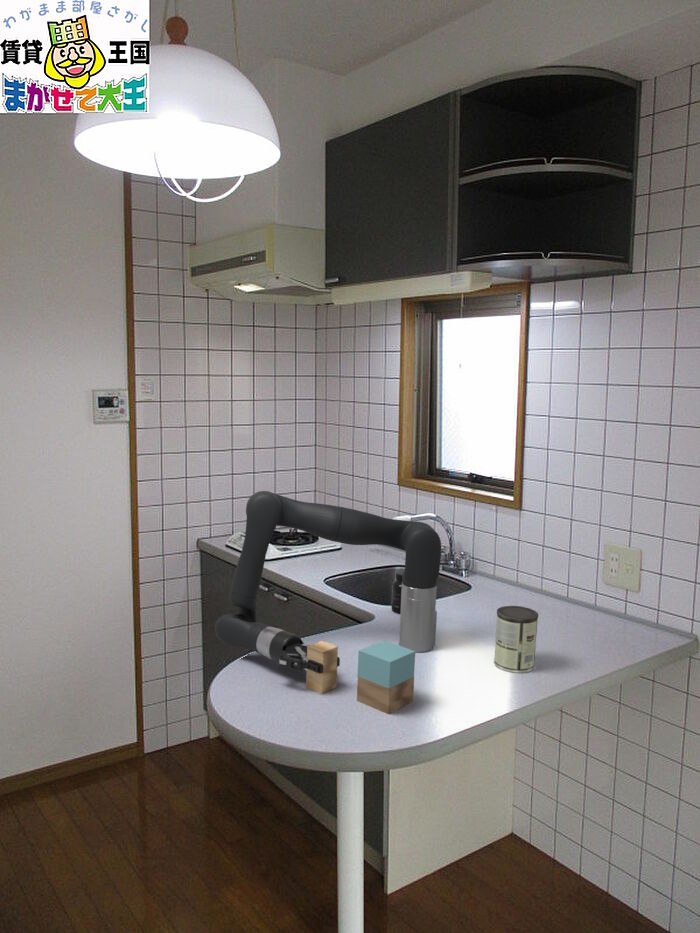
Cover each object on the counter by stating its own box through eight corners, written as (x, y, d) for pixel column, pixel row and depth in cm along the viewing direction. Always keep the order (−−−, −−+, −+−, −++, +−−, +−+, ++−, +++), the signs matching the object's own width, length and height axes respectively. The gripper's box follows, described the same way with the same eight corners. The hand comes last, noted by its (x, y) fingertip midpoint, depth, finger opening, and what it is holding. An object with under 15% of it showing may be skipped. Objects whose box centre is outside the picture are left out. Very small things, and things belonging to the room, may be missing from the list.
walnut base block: (381, 689, 182) (383, 665, 181) (412, 701, 176) (414, 676, 175) (356, 701, 175) (357, 676, 174) (388, 714, 169) (389, 688, 168)
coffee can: (501, 654, 206) (504, 602, 204) (539, 663, 201) (543, 610, 199) (487, 666, 197) (490, 613, 195) (527, 676, 192) (531, 621, 190)
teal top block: (382, 665, 181) (384, 640, 180) (414, 676, 175) (415, 651, 174) (357, 676, 174) (358, 650, 173) (388, 688, 168) (390, 662, 168)
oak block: (320, 680, 185) (322, 640, 183) (336, 687, 182) (337, 646, 180) (306, 687, 181) (307, 646, 180) (321, 693, 178) (323, 652, 176)
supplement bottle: (399, 605, 242) (401, 568, 240) (417, 611, 237) (419, 573, 236) (386, 611, 236) (388, 572, 235) (404, 616, 232) (406, 577, 230)
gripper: (257, 638, 184) (309, 658, 173) (300, 623, 195) (351, 642, 184) (257, 668, 185) (308, 690, 174) (299, 652, 196) (350, 672, 185)
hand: (330, 665), depth 179 cm, fingers closed on oak block, 5 cm apart
